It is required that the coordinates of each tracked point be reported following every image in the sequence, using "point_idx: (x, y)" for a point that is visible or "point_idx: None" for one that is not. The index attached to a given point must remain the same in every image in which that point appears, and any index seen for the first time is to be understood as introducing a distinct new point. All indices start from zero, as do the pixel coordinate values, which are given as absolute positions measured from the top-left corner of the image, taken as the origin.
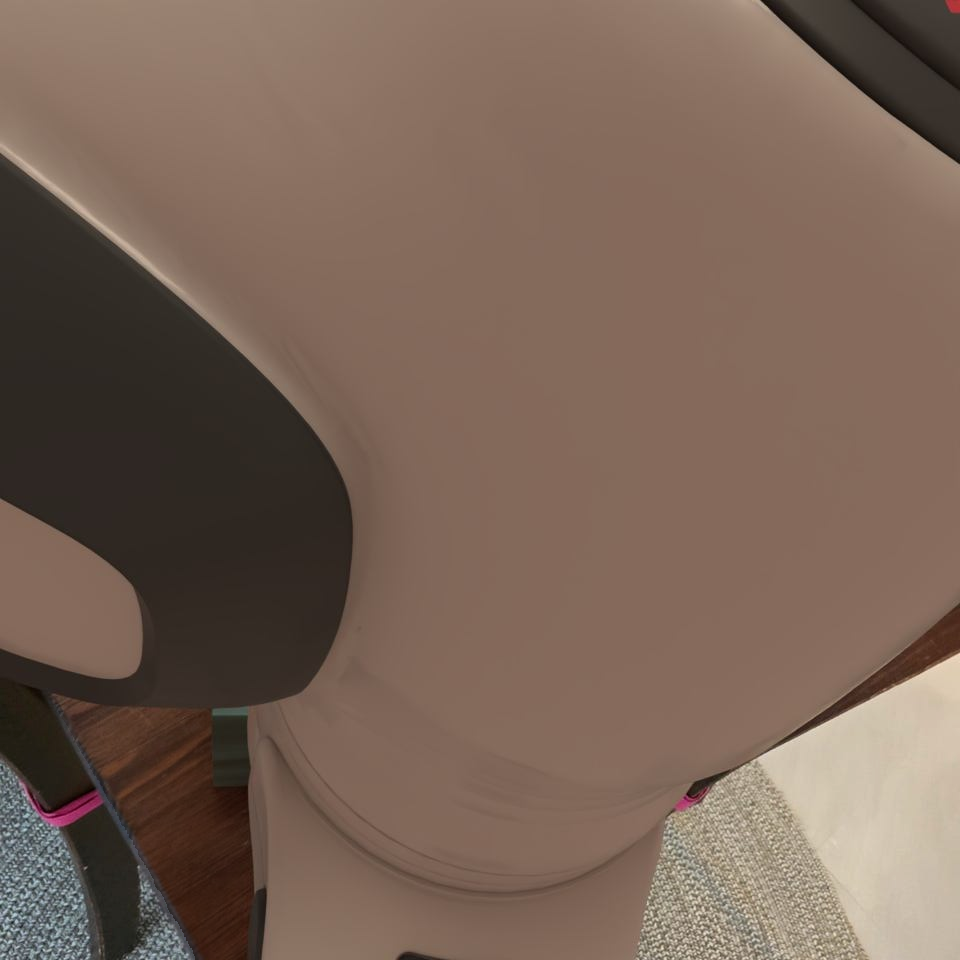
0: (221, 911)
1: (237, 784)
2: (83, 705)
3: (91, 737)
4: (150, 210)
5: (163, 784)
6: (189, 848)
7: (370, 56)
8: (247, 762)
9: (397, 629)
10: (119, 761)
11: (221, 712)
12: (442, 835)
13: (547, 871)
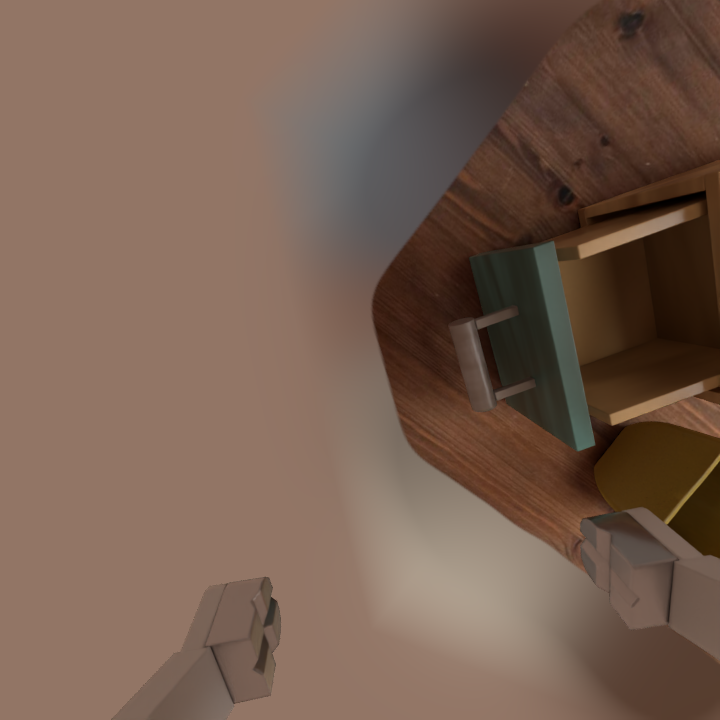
0: (390, 297)
1: (474, 274)
2: (506, 128)
3: (483, 148)
4: None
5: (461, 220)
6: (423, 258)
7: None
8: (493, 281)
9: None
10: (470, 179)
11: (538, 255)
12: None
13: None
